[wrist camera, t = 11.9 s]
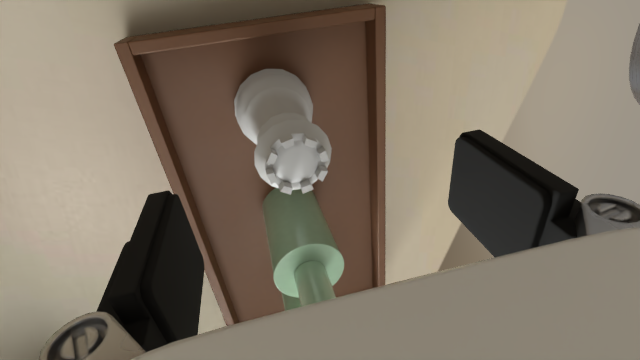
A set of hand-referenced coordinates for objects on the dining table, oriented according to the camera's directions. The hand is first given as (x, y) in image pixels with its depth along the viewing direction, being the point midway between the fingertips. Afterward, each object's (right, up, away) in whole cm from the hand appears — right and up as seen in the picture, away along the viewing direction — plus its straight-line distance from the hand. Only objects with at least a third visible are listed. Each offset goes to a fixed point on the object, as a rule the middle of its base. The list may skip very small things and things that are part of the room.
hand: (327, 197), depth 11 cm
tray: (-3, -1, +13) cm, 14 cm away
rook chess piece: (-3, +5, +9) cm, 11 cm away
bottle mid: (-2, -1, +13) cm, 13 cm away
